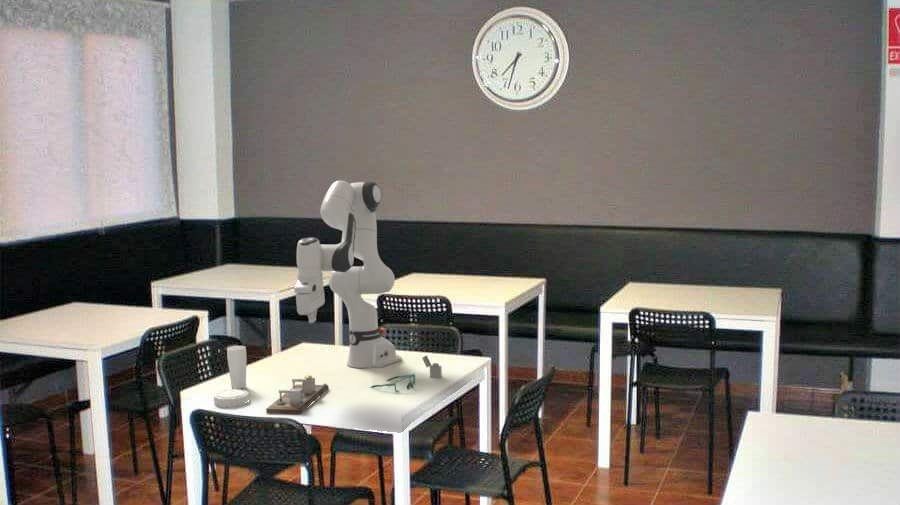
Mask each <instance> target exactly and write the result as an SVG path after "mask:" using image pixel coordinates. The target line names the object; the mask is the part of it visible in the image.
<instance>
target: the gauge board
mask: <svg viewBox="0 0 900 505" xmlns="http://www.w3.org/2000/svg"><path fill="white" fill-rule="evenodd" d="M322 385H323V384H315V391H316V390H317V389H318V388H320V387H321V386H322ZM291 389H293V387H292V388H290V389H289V390H291ZM295 389H302V390H303V387H302V383H301V384H295ZM328 390H329V385H328V384H327V386H326V387H325V388H324V389H323V390H321V391H320V392H319V393H318V394H317V395H316V396H315V397H314V398H312V399H311V400H310V401H309V402H308V403H307V404H306V405H305V406H303V407H302V408H301V409H298V406H294V405H290V396H289V393H283V394H282V402H280V397H279V398H278V399H277V400H275V401H274V402H273V403H272V404H270V405H269V406H267V408H266V409H265V412H266V413H265V414H283V415H285V414H286V415H301V414H303V413H304V412H306V410H307V409H308V408H309V407H310V406H311V405H310V404H311V403H312V402H313V401H315V400H316V399H317V398H318V397H319V396H320V397H322V396H323V395H324V394H325V393H326V392H328ZM324 392H325V393H324ZM323 393H324V394H323ZM322 394H323V395H322ZM310 395H311V394H303V401H305V400H306V399H307V398H308V397H309V396H310ZM321 395H322V396H321ZM320 397H319V398H320ZM319 398H318V399H319ZM318 399H317V400H318ZM317 400H316V401H317ZM316 401H315V402H316ZM309 405H310V406H309ZM308 406H309V407H308ZM307 407H308V408H307Z"/></svg>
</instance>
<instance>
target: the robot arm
mask: <svg viewBox="0 0 900 505" xmlns="http://www.w3.org/2000/svg"><path fill="white" fill-rule="evenodd" d="M381 200H382V192H381V188H380V186H379V185H378V184H377V183H376V182H374V181H360V182H351V183H349V182H348V181H346V180H336V181H334V182H333V183H332V184H330V187H329V188H328V190H327V192H326V193H325V195H324V197H323V200H322V203H321V206H320V217H321V219H322V221H323V222H325V224H326V225H327V226H329V227H330V228H333V229H336V230H340V231H342V235H341V241H340V242H339V243H337V244H335V243H334V244H321V243H320V240H319V238H317V237H312V236H311V237H306V238H301V239H300V240H298V242H297V246H296V267H297V269H298V270H297V271H298V272H297V282H296V284H295V286H294V288H293V289H294V294H296V295H295V303H296V311H297V314H298V315H299V316H307V318H308V323H309V324H314V323H315V322H317V314H318V309H319V308H320V307H322V306H323V305H325V302H326V300H325V299H326V297H325V289H324V276H323V272H330V274H329V277H328V286H329V288H330V289H331V291H332V292H333V293H334V294H336V295H337V296H338V297H339V298H340V299H341V300H342V301H343V303H344V305H345V307H346V309H347V314H348V323H349V328H348V340H349V349H348V350H349V351H348V359H347V364H346V365H347V367H348V366H349V367H352V368H357V369H358V368H360V369H364V368H365V369H368V368H377V369H378V368H382V367H385V366H388V365H391V364H394V363H396V362H398V361H402V360H403V359H402V358H403V357H402V356H401V355H399V354H397V353H396V348H395V345H394V344H393V343H392V342H391V341H390V340H388V339H386V338H385V337H383V335H382V334H386V332H387V329H386V328H384V327H381V328H380V327H379V323H378V310H377V308H376V307H375V306H374V304H372V303H369V302H368V301H366V300H364V298H363V297H362V295H380V294H384V293H389V292H391V291H392V289H393V287H394V286H395V283H396V282H395V281H396V279H395V274H394V273H393V270H392V269H391V268H390V267H388V266H387V265H386V264H385V263H384V262H383V261H382V260H381V257H380V255H379V251H378V243H377V240H378V239H377V238H378V231H377V230H378V226H377V225H378V224H377V217H376V210H377V209H378V207H379V206H380V203H381V202H382V201H381ZM355 258H356V259H359V260H361V261H362V262H363V265H360V266H354V262H355V260H354V259H355Z"/></svg>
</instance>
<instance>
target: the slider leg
mask: <svg viewBox="0 0 900 505" xmlns="http://www.w3.org/2000/svg"><path fill="white" fill-rule="evenodd" d="M291 382H292V388H293V389H295V385H296V382H297V383H301V384H302V387H303V394H313V393H314V392H315V385H316V378H315V377H313V376H312V375H305V376H304V378H292V379H291Z"/></svg>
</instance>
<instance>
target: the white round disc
mask: <svg viewBox="0 0 900 505" xmlns="http://www.w3.org/2000/svg"><path fill="white" fill-rule="evenodd" d="M248 400H249V401H250V392H249V391H248V390H243V389H233V388H232V389H224V390H222V391H221V390H220V391H219V392H217V393H215V394H214V395H213V401H214V402H213V404H214V405H215V406H216V407H220V408H235V407H240V406H244V404H245V402H247V401H248ZM245 405H246V404H245Z"/></svg>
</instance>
